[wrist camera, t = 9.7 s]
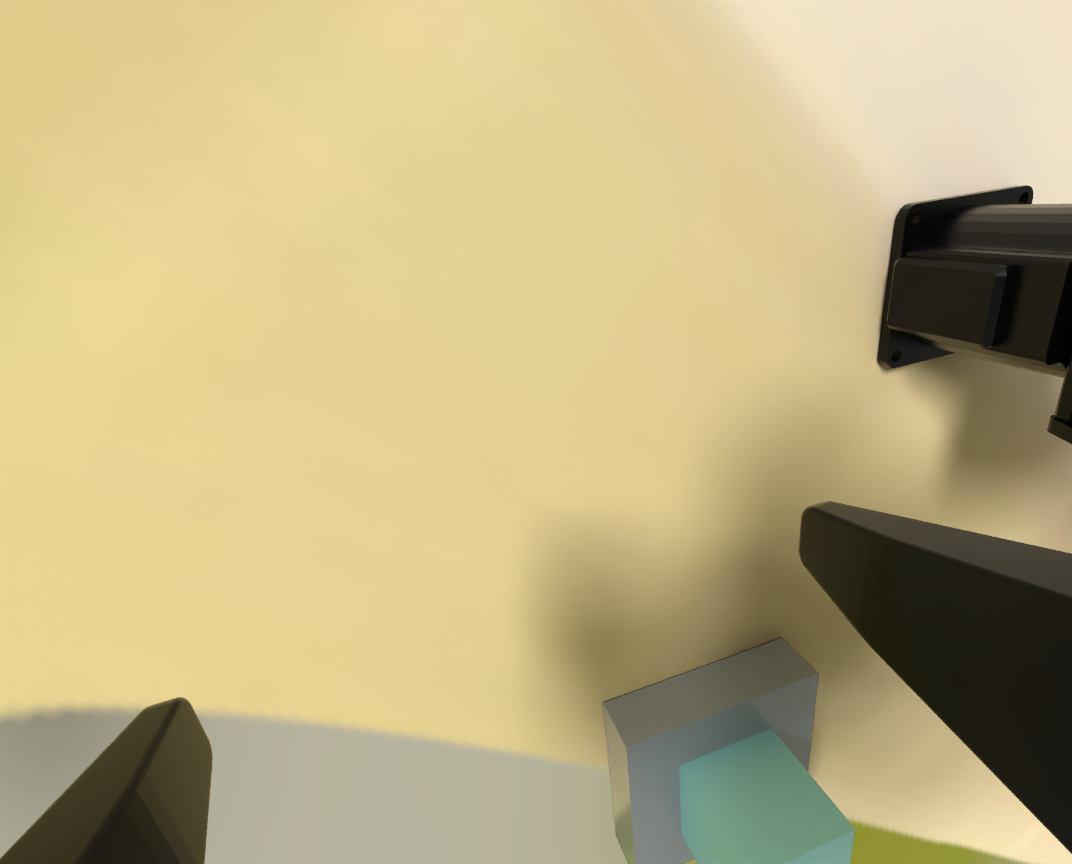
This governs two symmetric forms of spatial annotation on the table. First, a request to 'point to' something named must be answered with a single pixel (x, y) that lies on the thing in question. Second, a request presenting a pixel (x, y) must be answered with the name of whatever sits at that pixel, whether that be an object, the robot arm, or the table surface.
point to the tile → (698, 737)
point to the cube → (759, 808)
